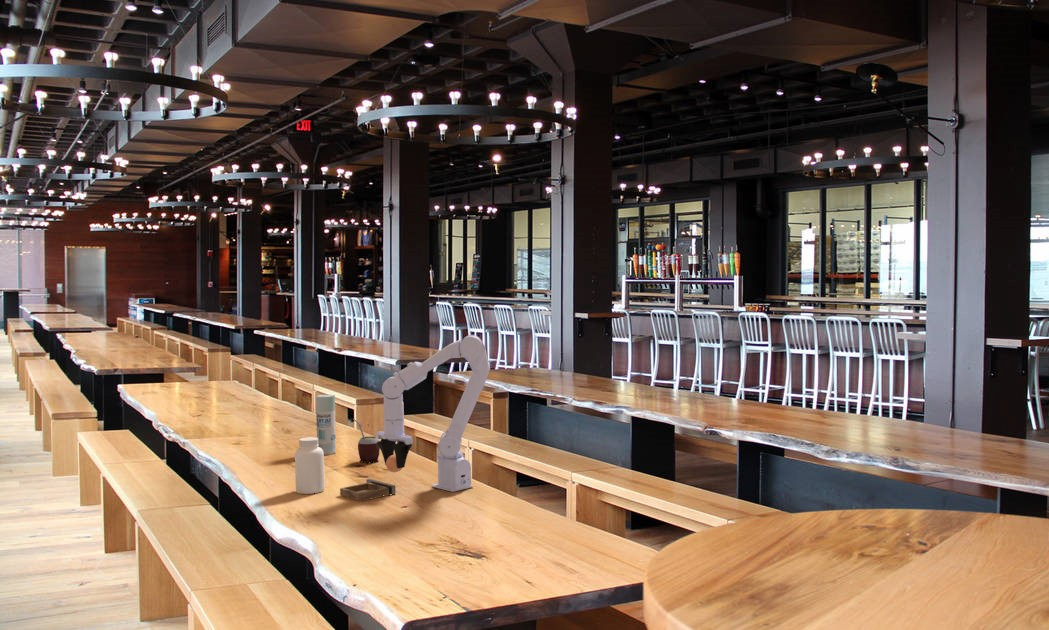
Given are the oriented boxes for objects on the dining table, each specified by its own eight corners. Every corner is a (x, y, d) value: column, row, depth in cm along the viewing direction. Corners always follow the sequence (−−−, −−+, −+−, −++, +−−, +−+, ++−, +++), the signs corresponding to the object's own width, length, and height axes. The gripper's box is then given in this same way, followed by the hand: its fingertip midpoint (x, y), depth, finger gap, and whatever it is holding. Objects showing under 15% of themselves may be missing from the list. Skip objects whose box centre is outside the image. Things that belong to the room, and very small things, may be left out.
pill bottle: (289, 493, 244) (288, 440, 243) (306, 487, 251) (305, 435, 250) (314, 495, 241) (312, 442, 240) (330, 489, 248) (329, 436, 248)
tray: (389, 494, 241) (389, 487, 241) (360, 501, 234) (360, 494, 234) (368, 489, 247) (368, 482, 247) (340, 495, 241) (340, 488, 240)
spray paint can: (339, 451, 302) (338, 394, 301) (331, 455, 296) (330, 397, 295) (321, 451, 303) (320, 394, 303) (313, 455, 297) (312, 396, 296)
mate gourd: (382, 459, 288) (381, 414, 287) (376, 465, 280) (375, 418, 279) (360, 459, 289) (359, 414, 288) (353, 464, 281) (352, 418, 280)
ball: (407, 471, 249) (407, 454, 248) (393, 474, 245) (392, 457, 245) (396, 469, 252) (396, 452, 252) (382, 472, 248) (382, 454, 248)
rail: (395, 494, 241) (395, 485, 241) (391, 495, 240) (391, 486, 240) (370, 487, 250) (369, 478, 250) (366, 488, 249) (366, 479, 249)
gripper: (367, 418, 250) (368, 465, 251) (398, 423, 240) (399, 472, 240) (387, 415, 255) (388, 461, 256) (418, 420, 245) (419, 468, 246)
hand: (394, 466), depth 248 cm, fingers closed on ball, 5 cm apart
